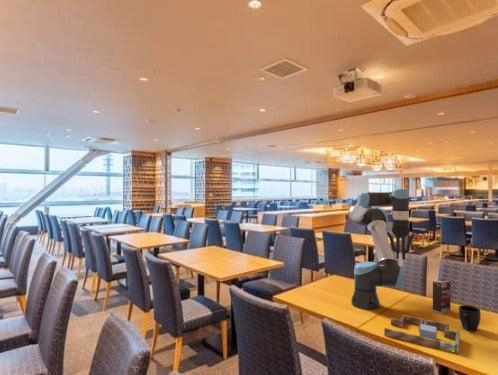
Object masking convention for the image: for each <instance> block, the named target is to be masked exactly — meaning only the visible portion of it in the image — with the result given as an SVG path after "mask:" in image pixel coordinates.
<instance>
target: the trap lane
mask: <svg viewBox="0 0 498 375" xmlns="http://www.w3.org/2000/svg"><path fill="white" fill-rule="evenodd" d="M405 323H406V324H407V323H408V324H412V325H415V326H416V325H417V326H418V332H420V326H421V324H425V325H429V326H434V327H437V330H439V331H444V332H443V333H444V335H443V337H444V338H447V339H451V340H455V341H454V343H451V342H448V341H443V340H439V339H436V340H435V339H431V338H426V337H422V336H420V335H418V334H417V335H416V334H413V333H408V332H406V331H405V332H404V331H400V330H396V329H392V328H387V327H384V328H383V329H384V330H383V332H384V336H385V337H390V338H394V339H397V340H401V341H404V342H408V343H409V342H410V343H412V344H413V343H414V344H417V345H422V346H426V347H430V348H433V349H437V348H438V349H437V350H441V349H443V350H442V351H445V350H448V351H447V352H449V351H454V352H457V353H460V343H461V342H460V341H461V331H460V330H456V331H455V330H450V324H449V323H445V322H439V321H435V320H432V319H431V320H430V319H424V318H421V317H415V316H410V315H405V314H402V316H401V317H400V319H398V318H394V317H391V318H390V326H394V327H395V326H396V327H399V328H403V327H404V326H405ZM457 353H456V354H457Z"/></svg>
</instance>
